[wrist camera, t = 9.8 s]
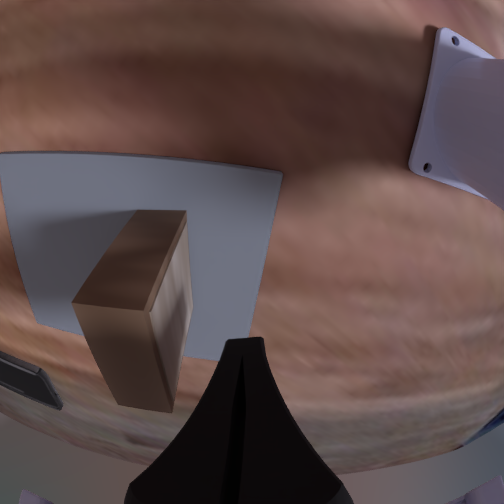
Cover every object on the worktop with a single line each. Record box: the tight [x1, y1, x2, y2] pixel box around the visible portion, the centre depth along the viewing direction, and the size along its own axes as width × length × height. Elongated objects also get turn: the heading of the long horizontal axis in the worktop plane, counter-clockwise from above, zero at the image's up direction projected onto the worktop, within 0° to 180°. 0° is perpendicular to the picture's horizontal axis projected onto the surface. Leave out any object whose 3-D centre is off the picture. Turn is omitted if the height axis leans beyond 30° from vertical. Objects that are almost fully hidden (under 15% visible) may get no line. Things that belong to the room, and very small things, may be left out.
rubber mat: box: [0, 151, 283, 361], centre depth 16 cm, size 16×13×1 cm
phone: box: [0, 351, 63, 410], centre depth 24 cm, size 8×1×15 cm
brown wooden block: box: [71, 210, 193, 413], centre depth 13 cm, size 3×6×7 cm, turn 177°
